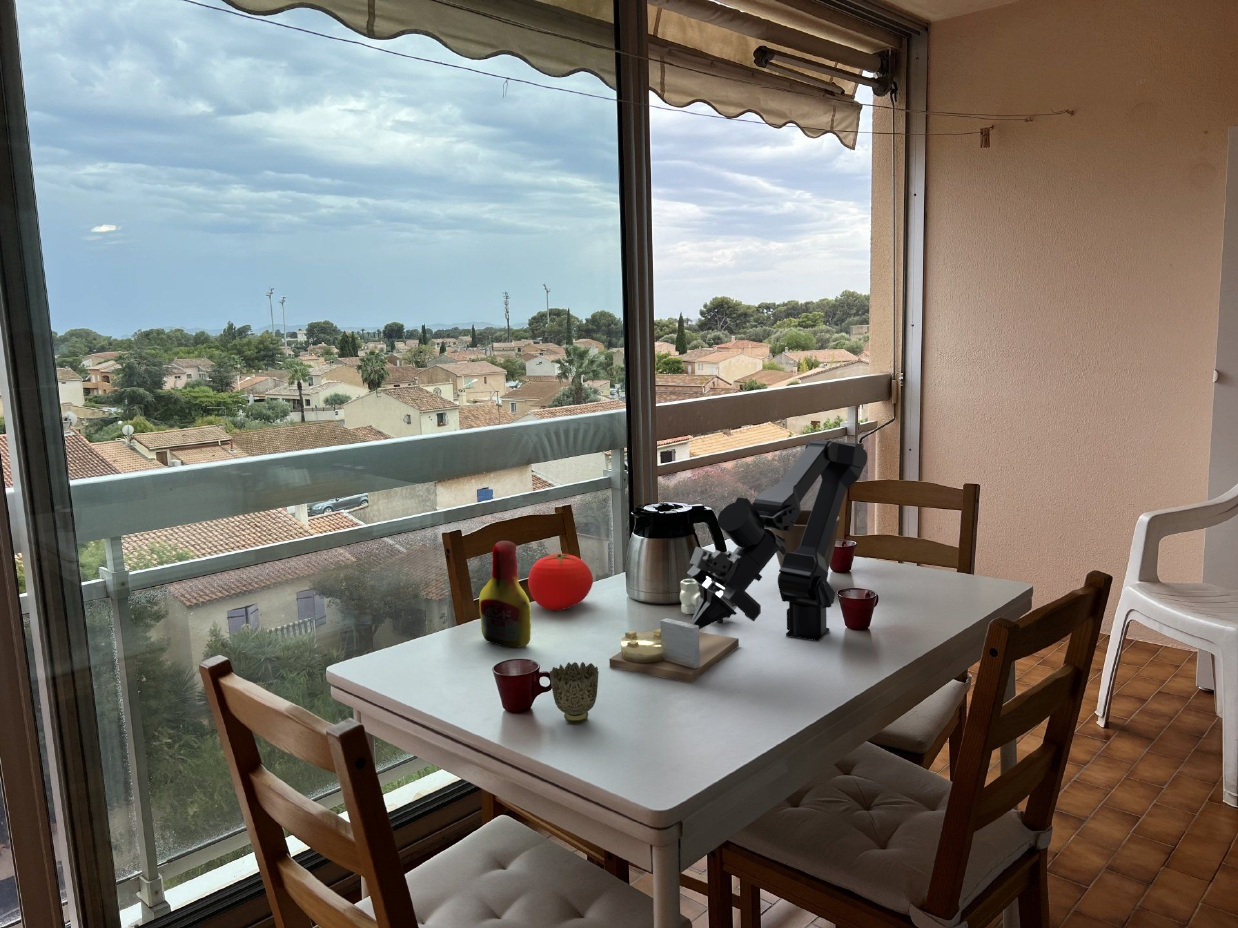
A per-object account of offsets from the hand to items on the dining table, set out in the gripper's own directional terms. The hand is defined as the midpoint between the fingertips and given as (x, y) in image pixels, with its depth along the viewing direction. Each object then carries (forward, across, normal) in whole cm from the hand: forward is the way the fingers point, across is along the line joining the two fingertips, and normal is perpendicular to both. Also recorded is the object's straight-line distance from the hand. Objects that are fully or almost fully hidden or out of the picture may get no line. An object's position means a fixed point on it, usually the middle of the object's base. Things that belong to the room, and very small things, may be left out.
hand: (691, 629), depth 155 cm
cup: (+22, +11, -12) cm, 28 cm away
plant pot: (-24, -34, +34) cm, 54 cm away
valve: (-4, -26, +14) cm, 30 cm away
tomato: (+14, -44, -3) cm, 46 cm away
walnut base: (+5, -7, +5) cm, 10 cm away
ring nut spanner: (+7, -3, +1) cm, 8 cm away
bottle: (+24, -26, -14) cm, 39 cm away
